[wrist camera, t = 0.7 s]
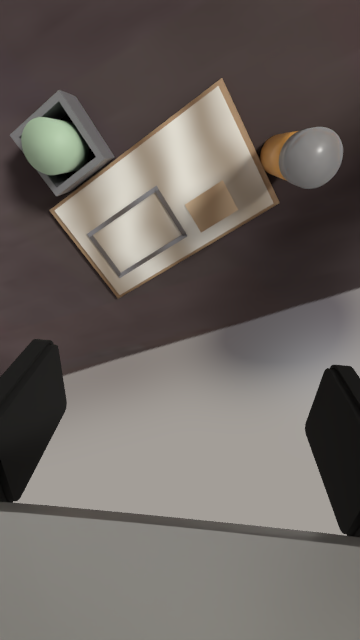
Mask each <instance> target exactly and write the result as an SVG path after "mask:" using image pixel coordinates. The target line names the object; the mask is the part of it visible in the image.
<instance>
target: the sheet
mask: <svg viewBox="0 0 360 640" xmlns="http://www.w3.org/2000/svg"><path fill="white" fill-rule="evenodd" d="M277 204H279V201H278V198H277V196H276V194H275V192H274V190H273V188H272V185H271V183H270V181H269V179H268V177H267V175H266V172H265V170H264V168H263V166H262V164H261V162H260V159H259V157H258V155H257V153H256V151H255V149H254V146H253V144H252V142H251V140H250V138H249V136H248V133H247V131H246V129H245V127H244V125H243V123H242V120H241V118H240V116H239V114H238V112H237V110H236V107H235V105H234V103H233V101H232V99H231V97H230V94H229V92H228V90H227V88H226V86H225V84H224V81H223V79H222V78H221V79H220V80H219V81H217V82H216V83H215V84H213V85H212V86H211V87H210V88H208V89H207V90H206V91H204V92H203V93H202V94H200V95H199V96H198V97H197V98H195V99H194V100H193V101H191V102H190V103H189V104H187V105H186V106H185V107H183V108H182V109H181V110H180V111H178V112H177V113H176V114H174V115H173V116H172V117H170V118H169V119H168V120H166V121H165V122H164V123H163V124H161V125H160V126H159V127H157V128H156V129H155V130H153V131H152V132H151V133H150V134H148V135H147V136H146V137H144V138H143V139H142V140H140V141H139V142H138V143H136V144H135V145H134V146H133V147H131V148H130V149H129V150H127V151H126V152H125V153H123V154H122V155H121V156H120V157H118V158H117V159H116V160H114V161H113V162H112V163H110V164H109V165H108V166H106V167H105V168H104V169H103V170H101V171H100V172H99V173H97V174H96V175H95V176H93V177H92V178H91V179H90V180H88V181H87V182H86V183H84V184H83V185H82V186H80V187H79V188H78V189H76V190H75V191H74V192H73V193H71V194H70V195H69V196H67V197H66V198H65V199H63V200H62V201H61V202H59V203H58V204H57V205H56V206H54V207H53V208H52V209H50V210H49V211H50V212H51V213H52V214H53V216H54V217H55V218H56V220H57V221H58V222H59V223H60V225H61V226H62V227H63V229H64V230H65V231H66V232H67V234H68V235H69V236H70V238H71V239H72V240H73V241H74V243H75V244H76V245H77V246H78V248H79V249H80V250H81V252H82V253H83V254H84V255H85V257H86V258H87V259H88V261H89V262H90V263H91V264H92V266H93V267H94V268H95V270H96V271H97V272H98V273H99V275H100V276H101V277H102V279H103V280H104V281H105V282H106V284H107V285H108V286H109V288H110V289H111V290H112V291H113V293H114V294H115V295H116V297H117V298H120V297H122V296H123V295H125V294H127V293H129V292H130V291H132V290H134V289H135V288H137V287H139V286H140V285H142V284H144V283H145V282H147V281H149V280H150V279H152V278H154V277H156V276H157V275H159V274H161V273H162V272H164V271H166V270H167V269H169V268H171V267H172V266H174V265H176V264H177V263H179V262H181V261H183V260H184V259H186V258H188V257H189V256H191V255H193V254H194V253H196V252H198V251H199V250H201V249H203V248H204V247H206V246H208V245H210V244H211V243H213V242H215V241H216V240H218V239H220V238H221V237H223V236H225V235H226V234H228V233H230V232H231V231H233V230H235V229H237V228H238V227H240V226H242V225H243V224H245V223H247V222H248V221H250V220H252V219H253V218H255V217H257V216H258V215H260V214H262V213H263V212H265V211H267V210H269V209H270V208H272V207H274V206H275V205H277Z"/></svg>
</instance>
